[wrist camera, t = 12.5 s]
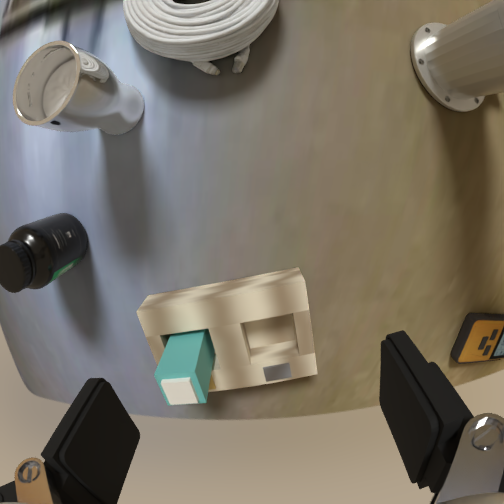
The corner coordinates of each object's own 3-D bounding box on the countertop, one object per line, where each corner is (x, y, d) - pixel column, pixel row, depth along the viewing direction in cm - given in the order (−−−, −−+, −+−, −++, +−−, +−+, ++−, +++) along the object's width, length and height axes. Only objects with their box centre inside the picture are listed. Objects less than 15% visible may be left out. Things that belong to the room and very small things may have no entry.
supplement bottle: (95, 259, 34) (42, 298, 23) (56, 269, 35) (1, 306, 23) (80, 205, 33) (18, 226, 21) (41, 219, 33) (-21, 243, 21)
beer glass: (142, 140, 31) (71, 127, 16) (89, 138, 30) (4, 130, 16) (153, 80, 29) (93, 32, 14) (99, 81, 29) (22, 45, 14)
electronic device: (464, 309, 38) (477, 318, 35) (517, 312, 39) (528, 320, 35) (445, 356, 40) (455, 367, 37) (500, 353, 41) (510, 361, 37)
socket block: (298, 267, 35) (305, 282, 30) (310, 353, 38) (317, 375, 33) (148, 295, 36) (135, 313, 31) (177, 374, 39) (170, 396, 34)
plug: (207, 319, 35) (193, 375, 25) (215, 347, 37) (205, 406, 26) (175, 324, 36) (152, 378, 25) (184, 351, 37) (166, 409, 26)
